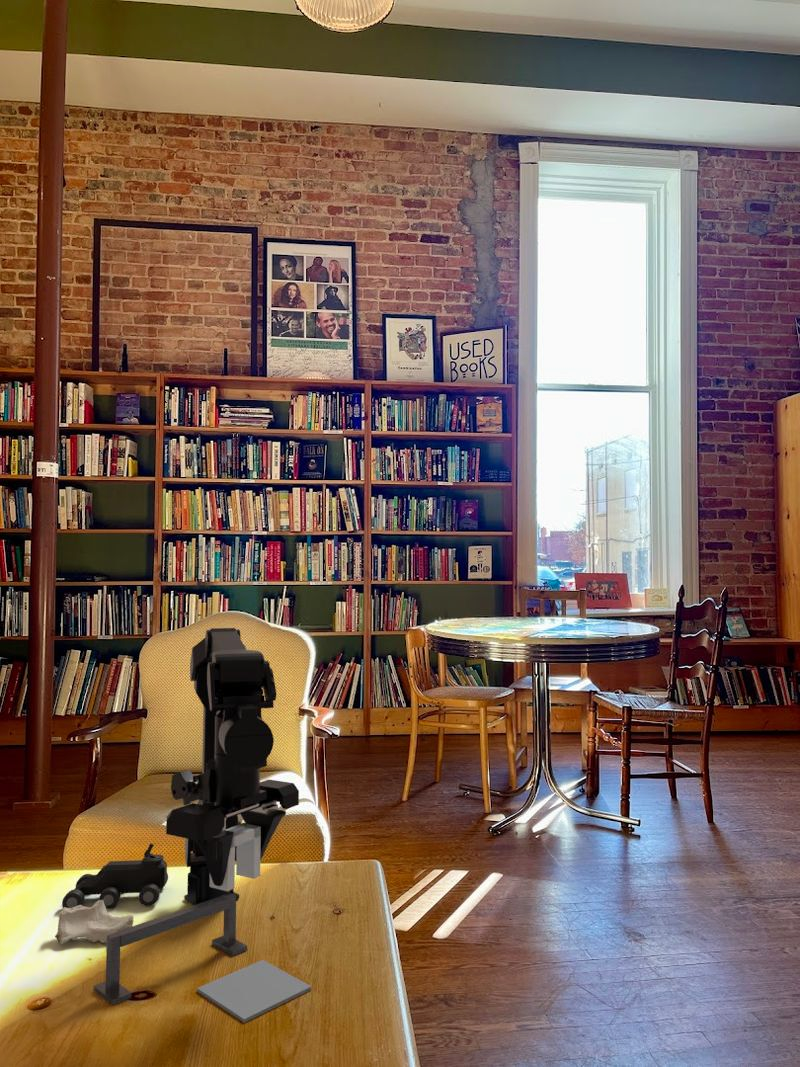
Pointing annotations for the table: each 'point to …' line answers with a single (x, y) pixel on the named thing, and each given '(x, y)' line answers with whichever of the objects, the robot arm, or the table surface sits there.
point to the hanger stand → (227, 942)
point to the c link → (242, 855)
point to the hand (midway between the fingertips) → (235, 877)
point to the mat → (253, 990)
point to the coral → (89, 923)
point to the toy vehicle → (122, 881)
